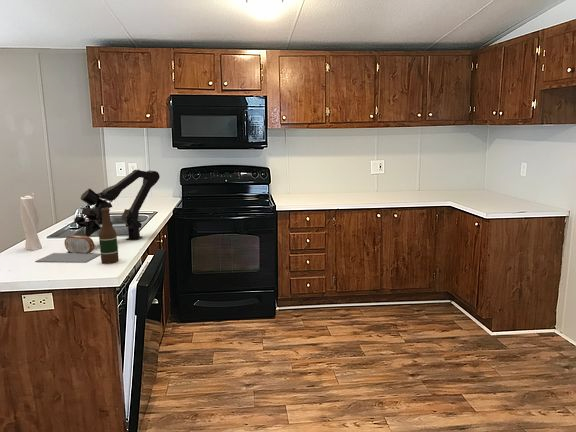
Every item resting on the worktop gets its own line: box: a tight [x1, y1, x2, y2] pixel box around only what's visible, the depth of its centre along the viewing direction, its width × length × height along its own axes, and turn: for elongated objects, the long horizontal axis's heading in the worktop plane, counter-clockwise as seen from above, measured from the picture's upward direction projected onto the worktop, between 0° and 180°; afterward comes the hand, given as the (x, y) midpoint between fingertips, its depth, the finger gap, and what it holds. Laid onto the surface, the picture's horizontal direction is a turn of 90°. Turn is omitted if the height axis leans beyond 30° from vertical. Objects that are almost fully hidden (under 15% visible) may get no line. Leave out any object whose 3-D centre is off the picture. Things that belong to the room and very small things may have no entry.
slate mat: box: [35, 252, 101, 264], centre depth 216 cm, size 14×24×1 cm, turn 84°
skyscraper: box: [20, 192, 43, 251], centre depth 232 cm, size 8×8×28 cm
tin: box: [64, 234, 95, 253], centre depth 224 cm, size 15×3×8 cm, turn 75°
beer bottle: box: [98, 208, 120, 265], centre depth 207 cm, size 8×8×24 cm
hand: (86, 236), depth 229 cm, fingers closed
